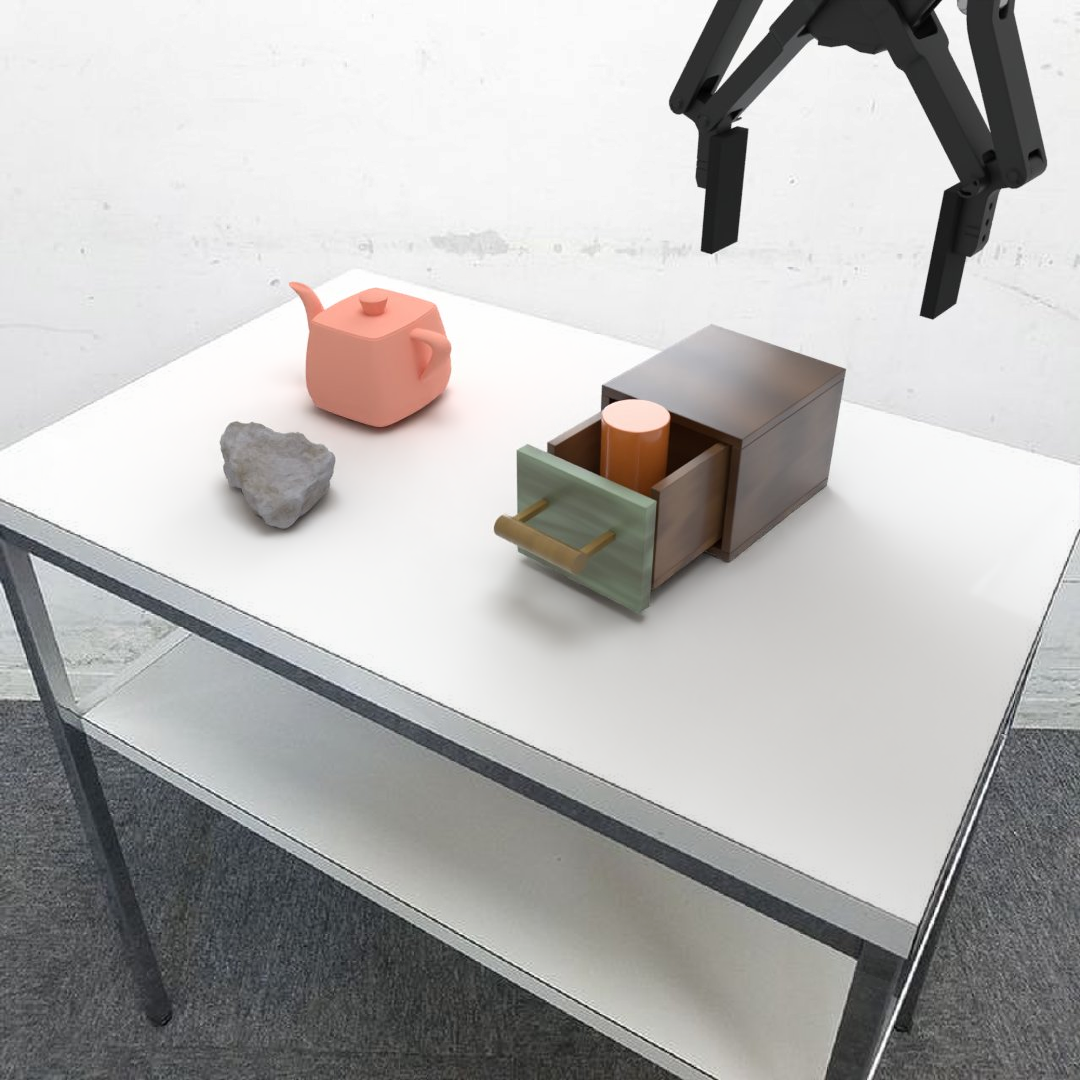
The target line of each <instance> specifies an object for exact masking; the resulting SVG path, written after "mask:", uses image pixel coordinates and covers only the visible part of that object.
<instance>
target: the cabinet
mask: <svg viewBox="0 0 1080 1080" xmlns="http://www.w3.org/2000/svg"><path fill="white" fill-rule="evenodd" d="M846 372H847V368H845V367H842V366H839V365H836V364H833V363H830V362H827V361H824V360H821V359H818V358H815V357H812V356H809V355H806V354H802V353H800V352H796V351H795V350H791V349H788V348H784V347H782V346H779V345H776V344H773V343H770V342H768V341H767V342H766V341H763V340H761V339H758V338H754V337H752V336H748V335H746V334H743V333H739V332H736V331H734V330H731V329H727V328H725V327H722V326H719V325H717V324H716V325H715V324H713V323H711V324H708V325H707V326H705V327H703V328H701V329H700V330H697V331H696V332H694V333H693V334H691V335H689V336H687V337H685V338H684V339H682V340H680V341H678V342H676V343H674V344H673V345H670V346H669V347H667V348H666V349H664V350H662V351H660V352H658V353H657V354H654V355H653V356H651V357H650V358H647V359H645V360H644V361H642V362H641V363H638V364H637V365H635V366H633V367H631V368H629V369H628V370H626V371H624V372H622V373H621V374H619V375H617V376H615V377H613V378H611V379H610V380H608V381H606V382H605V383H603V384H601V395H600V412H601V411H602V410H604V409H605V408H606V407H607V406H608V405H610V404H612V403H615V402H618V401H622V400H631V399H636V400H646V401H650V402H654V403H657V404H659V405H661V406H663V407H664V408H665V409H667V411H668V412H669V414H670V417H671V418H670V421H671V422H674V423H676V424H679V425H681V426H684V427H687V428H689V429H692V430H694V431H697V432H699V433H702V434H704V435H707V436H709V437H712V438H714V439H717V440H719V441H722V442H725V443H727V444H730V445H732V454H731V463H730V473H729V482H728V491H727V500H726V510H725V519H724V528H723V537H722V538H721V539H720V540H718V541H717V542H716V543H714V544H713V545H712V546H710V547H709V548H708V549H707V550H705V551H704V552H705V553H707V554H709V555H711V556H714V557H716V558H717V559H721V560H722V561H725V562H727V563H729V562H731V561H732V560H733V559H735V558H736V557H738V556H739V555H740V554H741V553H742V552H744V551H745V550H747V548H749V547H750V546H751V545H753V544H755V542H757V541H758V540H759V539H760V538H762V537H763V536H764V535H765V534H767V533H768V532H770V530H772V529H773V528H775V526H777V525H778V524H779V523H781V522H782V521H783V520H784V519H786V518H787V517H788V516H789V515H791V514H792V513H793V512H794V511H796V510H798V508H799V507H801V506H803V504H804V503H806V502H807V501H808V500H810V499H812V497H813V496H815V495H816V494H817V493H818V492H820V491H821V490H822V489H824V488H825V487H826V486H827V485H828V482H829V476H830V470H831V463H832V458H833V452H834V445H835V439H836V433H837V427H838V421H839V416H840V415H839V414H840V408H841V403H842V397H843V391H844V384H845V377H846V374H847V373H846Z"/></svg>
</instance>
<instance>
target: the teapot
mask: <svg viewBox="0 0 1080 1080" xmlns="http://www.w3.org/2000/svg"><path fill="white" fill-rule="evenodd" d="M288 285H289V287H290V288H291V289H292V290H293V291H294V292H295V293H296V294H297V295H298V297H299V298H300V300H301V302H302V305H303V306H304V310H305V313H306V321H307V326H308V327H307V328H308V337H307V343H306V353H305V385H306V390H307V393H308V394H309V397H310V399H311V401H312V403H313V404H314V406H316V407H317V408H319V409H321V410H324V411H326V412H329V413H331V414H334V415H337V416H340V417H343V418H345V419H349V420H351V421H355V422H358V423H361V424H364V425H367V426H372V427H375V428H377V427H379V428H384V427H387V426H390V425H393V424H395V423H398V422H400V421H401V420H403V419H405V418H407V417H409V416H411V415H413V414H414V413H416V412H418V411H420V410H421V409H423V408H425V407H426V406H427V405H429V404H430V403H431V402H432V401H434V400H435V399H436V398H437V397H438V396H440V395H441V394H442V393H443V392H444V391H446V389H447V387H448V384H449V383H450V378H451V374H452V358H451V354H452V344H451V342H450V340H449V339H448V335H447V333H446V329H445V326H444V323H443V320H442V316H441V314H440V313H441V312H440V311H439V308H438V306H437V305H436V304H435V302H432V301H429V300H426V299H423V298H420V297H417V296H416V297H415V296H412V295H410V294H406V293H402V292H398V291H395V290H391V289H390V290H389V289H387V288H381V287H371V288H367V289H365V290H361V291H360V292H356V293H354V294H352V295H350V296H348V297H346V298H344V299H341V300H339V301H338V302H336V303H334V304H332V305H331V306H329V307H327V308H325V307H324V306H323V303H322V301H321V300H320V298H319V297H318V295H317V293H316V292H315V291H314V290H313V289H312V288H311V287H310V286H308V285H306V284H305V283H302V282H298V281H290V282H288Z"/></svg>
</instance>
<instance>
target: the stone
mask: <svg viewBox="0 0 1080 1080" xmlns="http://www.w3.org/2000/svg"><path fill="white" fill-rule="evenodd" d="M219 446H220V451H221V455H222V458H223V462H224V463H223V465H222V470H223V474H224V476H225V479H226V480H227V484H228V485H229V486H230V487H231V488H237V489H241V491H242V494H243V495H244V500H245V501H246V502H247V504H248V505H249V506H250V509H251V511H252V512H253V514H254V515H255V516H258V517H262V519H263V521H264V523H265V524H266V525H267V526H271V527H276V528H278V529H281V530H283V529H288V528H289V527H291V526H292V525H294V524H295V522H296V521H297V520H298V519H299V517H301V516H304V515H305V514H307V513H308V512H309V511H310V510H312V508H313V507H314V506H315V505H316V504H317V503H318V501H320V499H321V498H322V497H323V496H324V495H326V493H327V492H328V490H329V489H330V487H331V479H332V478H333V474H334V472H335V471H334V469H335V465H336V455H335V454H334V452H333V451H331V450H329V448H328V447H327V446H326V445H325V444H322V443H314V442H312V441H310V440H309V439H308V438H307V437H306V436H305V435H304V433H302V432H299V431H297V432H294V431H293V432H291V431H290V432H286V433H284V432H280V431H275V430H273V429H272V428H270V427H267V426H265V425H264V424H262V423H258V422H254V421H251V422H248V423H244V422H241V421H237V420H236V421H232V422H230V423H229V424H228V425H227V426H226V427H225V429H224V432H223V434H221V436H220V439H219Z"/></svg>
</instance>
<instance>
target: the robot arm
mask: <svg viewBox="0 0 1080 1080" xmlns="http://www.w3.org/2000/svg"><path fill="white" fill-rule="evenodd" d="M942 1H943V0H792V1H791V2H790V3H789V4H788V5H787V6H786V8H785V9H784V10H783V11H782V12H781V13H780V14H779V15H778V16H777V18H776V19H775V20H774V21H773V22H772V24H771V25H770V26H769V27H768V32H767V33H766V35H765V36H764V37H763V38H762V39H761V40H760V41H759V42H758V44H757V45H756V46H755V47H754V48H753V49H752V50H751V52H750V53H749V54H748V55H747V56H745V58H744V59H743V61H742V62H741V63H740V64H739V65H738V67H736V69H735V70H734V71H733V72H732V73H731V74H730V75H729V76H728V77H727V78H726V80H725V81H724V82H723V83H722V84H721V82H722V80H723V78H724V77H725V74H726V72H727V70H728V69H729V67H730V65H731V63H732V61H733V59H734V57H735V55H736V54H737V51H738V50H739V48H740V46H741V44H742V41H743V40H744V38H745V36H746V34H747V32H748V31H749V29H750V26H751V25H752V23H753V21H754V19H755V17H756V15H757V14H758V11H759V10H760V8H761V6H762V4H763V2H764V0H717V1H716V3H715V5H714V6H713V9H712V10H711V13H710V15H709V17H708V18H707V21H706V23H705V25H704V26H703V29H702V31H701V33H700V35H699V37H698V39H697V42H696V43H695V46H694V47H693V50H692V52H691V53H690V55H689V57H688V59H687V61H686V64H685V66H684V67H683V69H682V72H681V73H680V75H679V78H678V79H677V82H676V84H675V86H674V88H673V90H672V92H671V94H670V96H669V100H668V106H669V109H670V111H671V112H672V113H673V114H675V115H680V116H681V115H683V116H685V117H686V118H687V119H689V120H691V121H692V122H693V123H694V125H695V127H696V129H697V132H698V133H697V134H698V136H697V137H698V138H697V148H696V149H697V150H696V164H695V166H696V167H695V176H694V178H695V183H696V186H697V188H700V189H704V191H705V192H704V204H703V206H704V207H703V216H702V229H701V230H702V231H701V240H700V241H701V242H700V252H702V253H705V254H709V255H713V254H715V253H717V252H720V251H721V250H723V249H725V248H728V247H730V246H731V245H734V244H735V243H738V242H739V232H740V231H739V229H740V221H741V211H742V210H741V209H742V202H743V201H742V199H743V188H744V182H745V181H744V179H745V172H746V171H745V170H746V160H747V149H748V140H749V128H748V127H743V126H740V125H739V126H738V125H736V126H734V127H732V125H733V124H734V123H736V122H739V121H740V120H742V119H743V117H742V116H741V115H742V114H743V112H745V111H746V110H747V109H748V108H749V107H750V106H751V104H753V102H754V101H756V99H757V98H758V97H759V96H760V95H761V94H762V93H763V91H764V90H765V89H766V88H767V87H768V86H769V85H770V84H771V83H772V82H773V81H774V80H775V79H776V78H777V76H778V75H779V74H780V73H781V72H782V71H783V70H784V69H785V68H786V67H787V66H788V65H789V63H790V62H791V61H793V59H795V57H796V56H797V55H798V54H799V53H800V52H801V50H802V49H803V48H805V46H806V45H808V43H810V42H811V41H813V40H816V41H817V46H820V47H827V48H836V47H837V48H838V47H842V46H847V47H849V48H850V49H852V50H854V51H856V52H858V53H860V54H867V55H868V54H869V55H877V54H880V53H883V52H886V51H887V53H888V55H889V57H890V58H891V60H892V62H893V64H894V66H895V67H896V68H897V69H898V70H900V71H902V73H904V75H905V77H906V79H907V80H908V83H909V84H910V86H911V88H912V90H913V93H914V94H915V96H916V98H917V100H918V102H919V104H920V106H921V108H922V110H923V112H924V114H925V115H926V118H927V119H928V121H929V123H930V126H931V127H932V129H933V131H934V133H935V136H936V137H937V139H938V141H939V143H940V145H941V147H942V149H943V151H944V153H945V155H946V156H947V159H948V161H949V162H950V165H951V167H952V169H953V170H954V172H955V174H956V177H957V178H958V181H959V182H957V183H955V184H953V185H951V186H950V187H948V188H946V189H944V190H943V194H942V199H941V204H940V209H939V214H938V219H937V223H936V224H937V225H936V229H935V234H934V238H933V239H934V240H933V245H932V250H931V254H930V260H929V265H928V270H927V275H926V280H925V285H924V290H923V296H922V301H921V306H920V311H919V317H922V318H926V319H929V320H932V321H933V320H935V319H936V318H938V317H939V316H941V315H942V314H944V313H945V312H947V311H948V310H949V309H951V308H952V307H954V306H955V305H957V302H958V299H959V298H958V297H959V294H960V288H961V285H962V279H963V275H964V269H965V265H966V262H967V261H966V260H967V258H972V257H974V256H975V255H977V254H978V253H980V252H982V251H983V250H984V248H985V246H986V245H987V244H988V243H989V240H990V235H991V229H992V226H993V221H994V218H995V212H996V209H997V204H998V200H999V195H1000V192H1001V190H1003V189H1010V190H1011V189H1012V190H1017V189H1019V188H1021V187H1023V186H1025V185H1026V184H1028V183H1030V182H1031V181H1033V180H1035V179H1036V178H1038V177H1039V176H1041V175H1043V174H1044V173H1045V172H1046V170H1047V168H1048V158H1047V153H1046V149H1045V144H1044V141H1043V136H1042V132H1041V127H1040V122H1039V119H1038V113H1037V109H1036V104H1035V100H1034V95H1033V91H1032V87H1031V81H1030V77H1029V74H1028V68H1027V63H1026V60H1025V59H1026V58H1025V55H1024V50H1023V45H1022V42H1021V38H1020V32H1019V29H1018V24H1017V19H1016V14H1015V7H1016V6H1015V5H1016V0H956V7H957V9H958V10H959V11H960V13H961V14H963V15H964V16H966V17H965V20H966V21H965V22H966V32H967V38H968V43H969V46H970V51H971V56H972V59H973V64H974V69H975V72H976V77H977V80H978V85H979V88H980V89H979V90H980V93H981V98H982V103H983V106H984V111H985V116H986V120H987V123H986V120H985V119H984V117H983V115H982V113H981V110H980V109H979V107H978V105H977V103H976V101H975V99H974V97H973V95H972V93H971V91H970V89H969V87H968V84H966V81H965V79H964V78H963V76H962V73H961V71H960V69H959V67H958V65H957V64H956V61H955V60H954V57H953V55H952V53H951V52H950V48H949V44H950V40H949V36H948V34H947V33H946V31H945V28H944V27H943V24H942V23H941V21H940V19H939V17H938V15H937V13H936V11H935V9H936V8H937V7H938V6H939V5H940V3H941V2H942ZM720 84H721V86H719V85H720ZM718 87H719V88H718ZM987 124H988V125H987Z"/></svg>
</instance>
